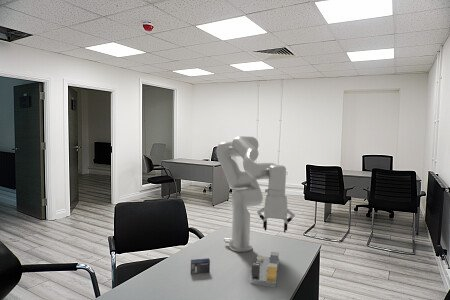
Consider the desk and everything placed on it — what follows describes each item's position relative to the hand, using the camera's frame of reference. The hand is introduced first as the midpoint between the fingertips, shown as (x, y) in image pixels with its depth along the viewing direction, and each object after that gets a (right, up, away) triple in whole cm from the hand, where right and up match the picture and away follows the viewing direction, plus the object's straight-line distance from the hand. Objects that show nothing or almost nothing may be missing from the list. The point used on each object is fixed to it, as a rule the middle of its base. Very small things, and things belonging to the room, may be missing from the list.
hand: (275, 230), depth 136 cm
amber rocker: (-3, -15, -9) cm, 18 cm away
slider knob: (-10, -16, -10) cm, 21 cm away
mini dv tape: (-34, -18, -4) cm, 38 cm away
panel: (-4, -18, -2) cm, 19 cm away
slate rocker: (0, -14, +3) cm, 15 cm away
